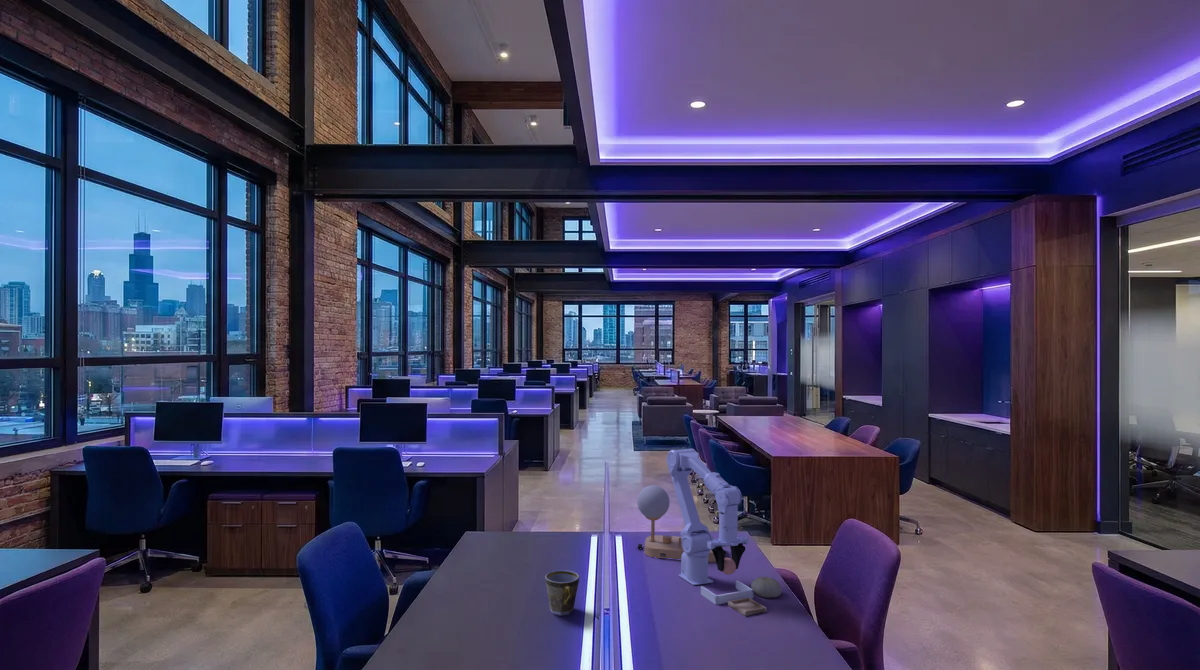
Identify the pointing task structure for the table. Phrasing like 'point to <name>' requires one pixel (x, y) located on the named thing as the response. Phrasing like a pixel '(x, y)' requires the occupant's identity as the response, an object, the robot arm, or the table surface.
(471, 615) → the table surface
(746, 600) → the tray
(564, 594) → the ceramic cup
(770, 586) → the sea urchin shell
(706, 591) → the white u-shaped arch
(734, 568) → the ball
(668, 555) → the lamp
